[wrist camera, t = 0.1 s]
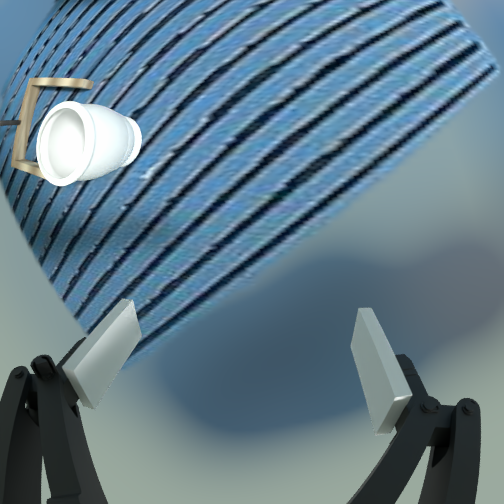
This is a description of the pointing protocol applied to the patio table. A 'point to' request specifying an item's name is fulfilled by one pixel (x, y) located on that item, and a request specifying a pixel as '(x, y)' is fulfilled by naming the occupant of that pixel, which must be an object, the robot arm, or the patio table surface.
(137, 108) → the patio table surface
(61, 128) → the jar
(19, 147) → the box
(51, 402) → the robot arm
